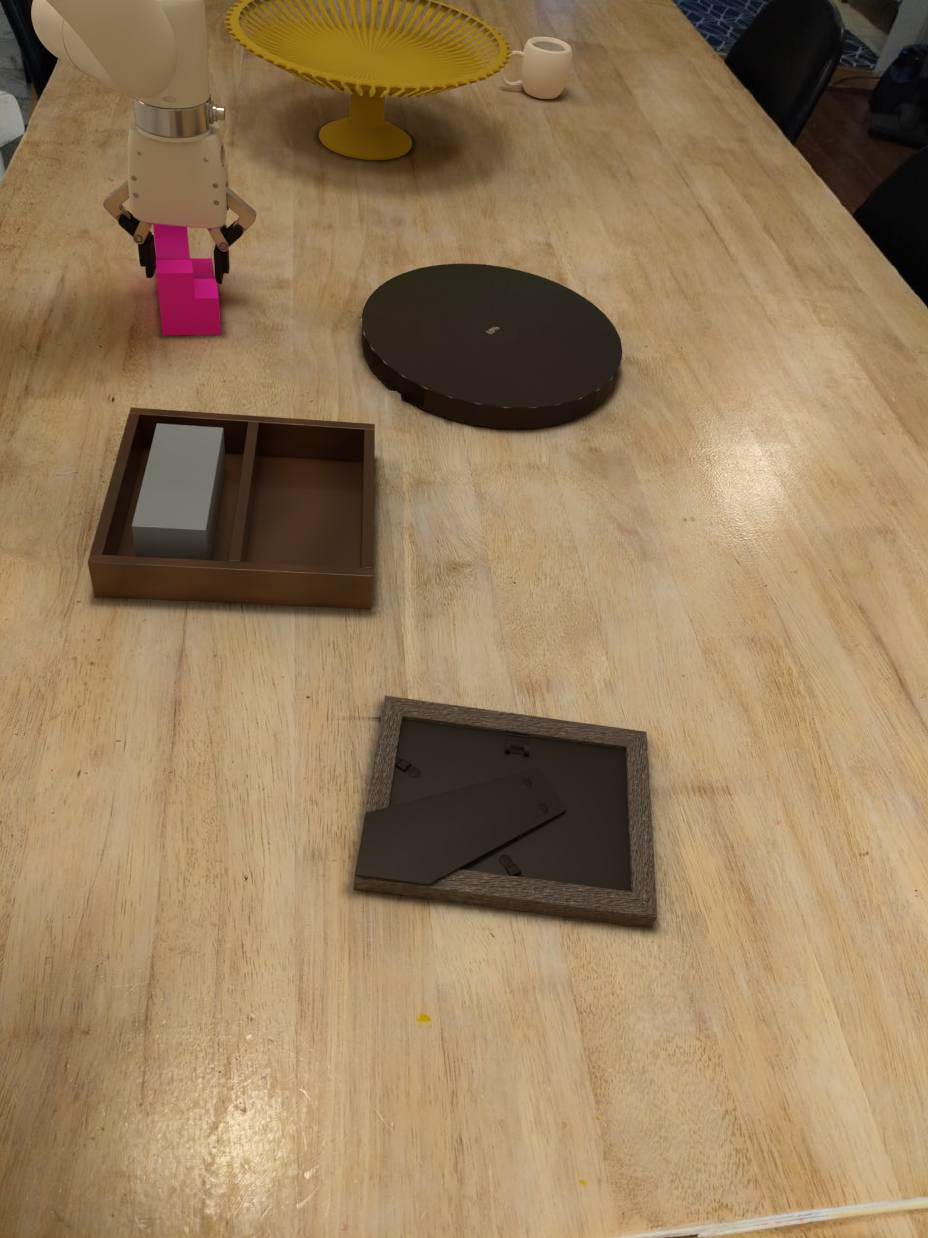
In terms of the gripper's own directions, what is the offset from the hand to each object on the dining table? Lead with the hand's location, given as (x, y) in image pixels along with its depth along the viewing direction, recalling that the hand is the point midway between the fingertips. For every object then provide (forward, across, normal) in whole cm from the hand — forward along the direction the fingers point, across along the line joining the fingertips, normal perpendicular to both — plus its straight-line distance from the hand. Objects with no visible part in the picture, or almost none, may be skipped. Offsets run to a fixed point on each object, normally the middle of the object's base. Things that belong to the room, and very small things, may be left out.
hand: (185, 273), depth 116 cm
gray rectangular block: (+3, -4, +38) cm, 38 cm away
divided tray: (+3, -10, +38) cm, 39 cm away
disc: (+3, -35, +6) cm, 36 cm away
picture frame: (+3, -32, +68) cm, 75 cm away
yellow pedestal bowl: (+3, -20, -49) cm, 53 cm away
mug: (+3, -48, -75) cm, 89 cm away
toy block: (+3, 0, 0) cm, 3 cm away
